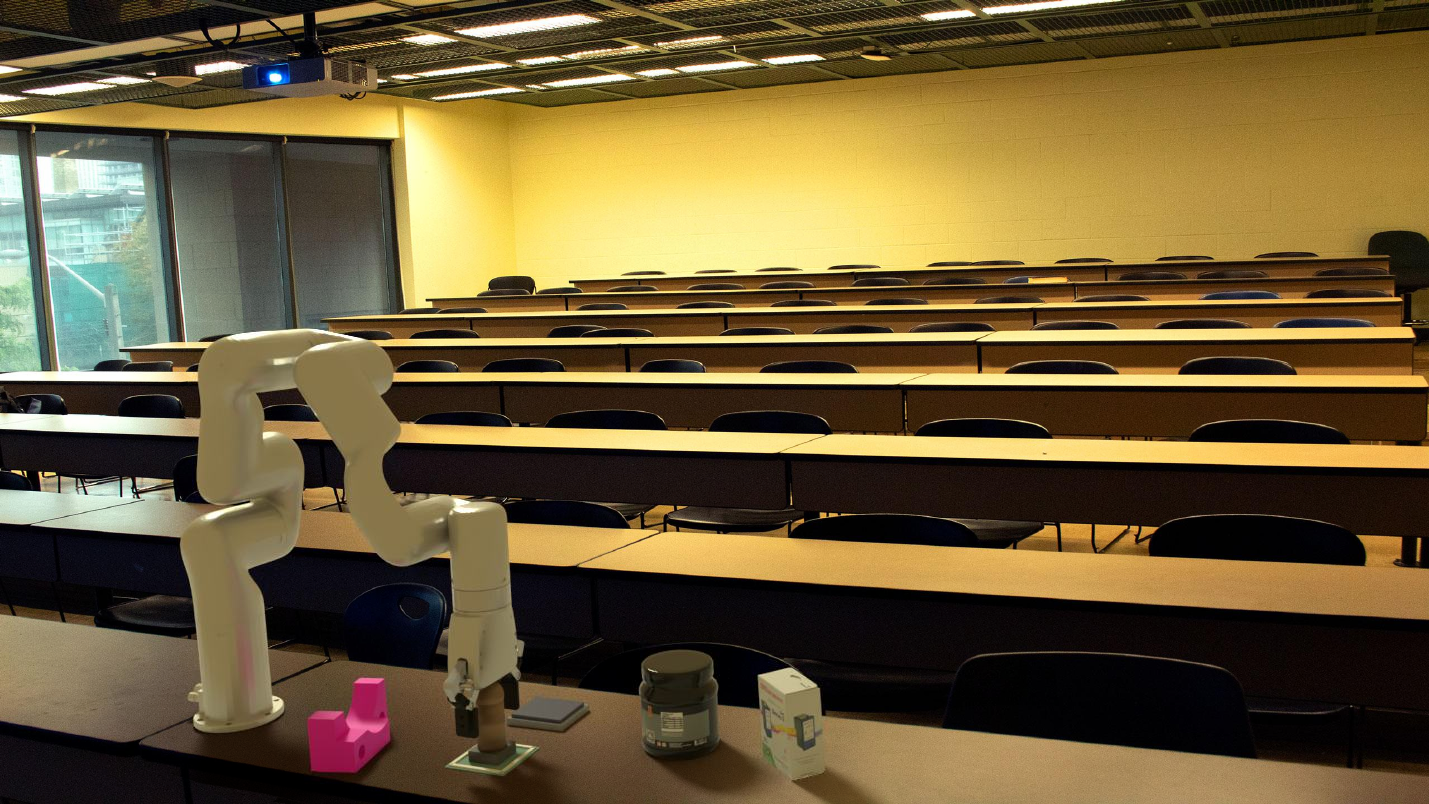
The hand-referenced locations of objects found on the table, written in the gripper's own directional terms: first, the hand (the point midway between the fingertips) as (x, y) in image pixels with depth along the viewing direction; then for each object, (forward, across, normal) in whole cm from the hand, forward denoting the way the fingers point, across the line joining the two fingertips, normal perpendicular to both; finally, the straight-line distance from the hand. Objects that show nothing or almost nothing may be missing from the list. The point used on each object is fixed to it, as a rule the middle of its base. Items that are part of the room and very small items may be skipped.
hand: (488, 722), depth 150 cm
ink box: (+5, -9, +39) cm, 41 cm away
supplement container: (+5, -11, +23) cm, 26 cm away
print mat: (+5, 0, 0) cm, 5 cm away
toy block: (+6, +2, -20) cm, 21 cm away
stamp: (+5, 0, 0) cm, 5 cm away
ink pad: (+5, -14, 0) cm, 15 cm away
